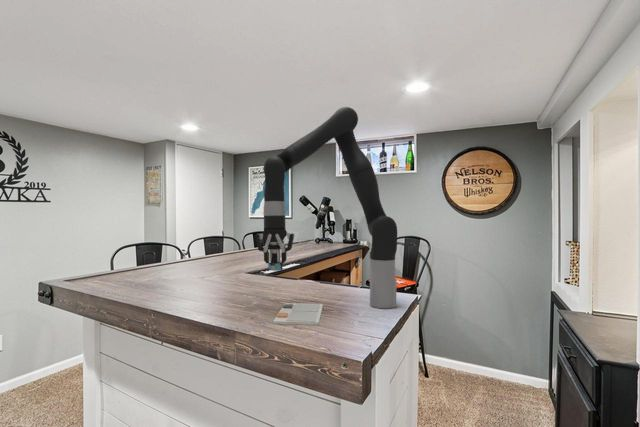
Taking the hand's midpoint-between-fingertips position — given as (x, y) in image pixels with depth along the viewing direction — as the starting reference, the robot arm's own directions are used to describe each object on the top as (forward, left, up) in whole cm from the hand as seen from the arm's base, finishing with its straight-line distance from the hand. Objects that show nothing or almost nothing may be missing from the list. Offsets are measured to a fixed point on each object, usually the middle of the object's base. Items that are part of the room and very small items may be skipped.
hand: (275, 262), depth 108 cm
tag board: (-9, +3, -17) cm, 19 cm away
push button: (-1, 0, -3) cm, 3 cm away
